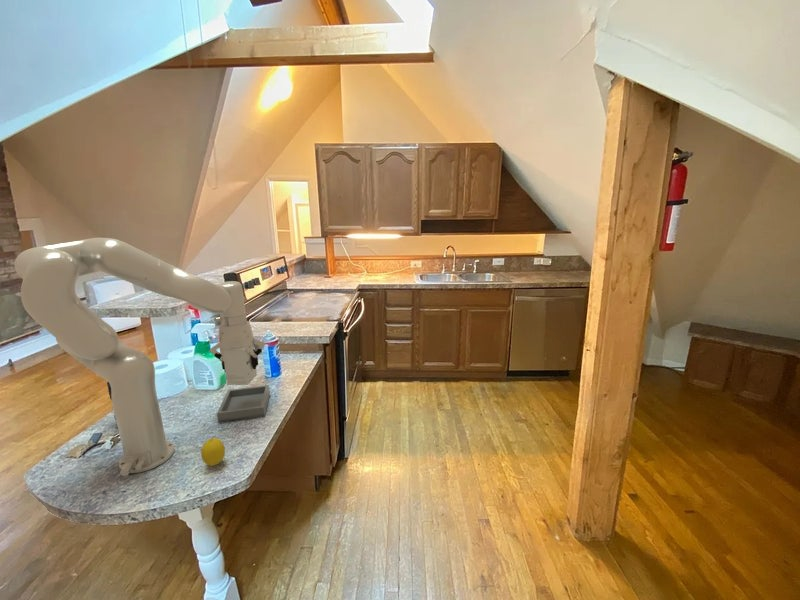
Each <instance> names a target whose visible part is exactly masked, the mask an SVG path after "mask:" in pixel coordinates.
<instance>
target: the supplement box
mask: <svg viewBox="0 0 800 600" xmlns="http://www.w3.org/2000/svg"><path fill="white" fill-rule="evenodd" d="M224 354H225V355H223V359H224V366H225V371H224V373H225V378H226V385H227V386H248V385H249V384H251V382H252V381H253V380H254V379H255V378H256V377H257V376H258V372H257V368H256V369H253V363H252V357H253V356H252V355H251V354H250V353H247V350H246V348H237V349H227V350H224Z"/></svg>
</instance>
